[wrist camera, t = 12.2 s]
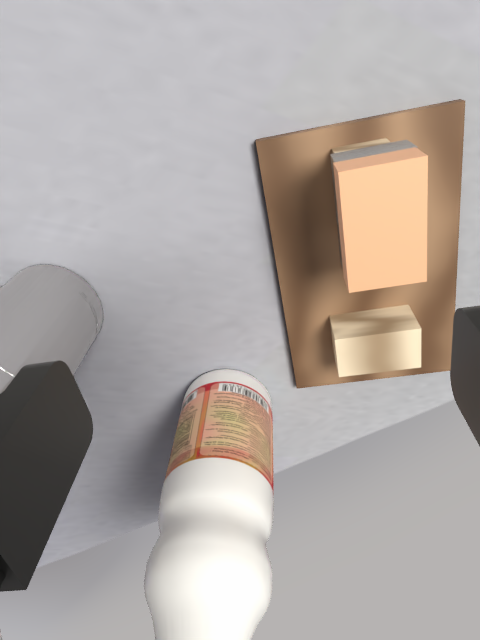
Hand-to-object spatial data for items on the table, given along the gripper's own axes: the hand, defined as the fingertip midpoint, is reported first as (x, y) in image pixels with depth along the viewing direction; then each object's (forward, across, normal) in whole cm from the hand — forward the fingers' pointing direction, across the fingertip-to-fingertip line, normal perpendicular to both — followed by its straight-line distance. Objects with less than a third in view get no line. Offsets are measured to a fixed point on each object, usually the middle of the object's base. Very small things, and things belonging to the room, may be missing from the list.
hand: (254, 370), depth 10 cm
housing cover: (+22, -7, +5) cm, 24 cm away
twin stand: (+30, -7, +12) cm, 33 cm away
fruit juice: (+30, +8, +26) cm, 40 cm away
